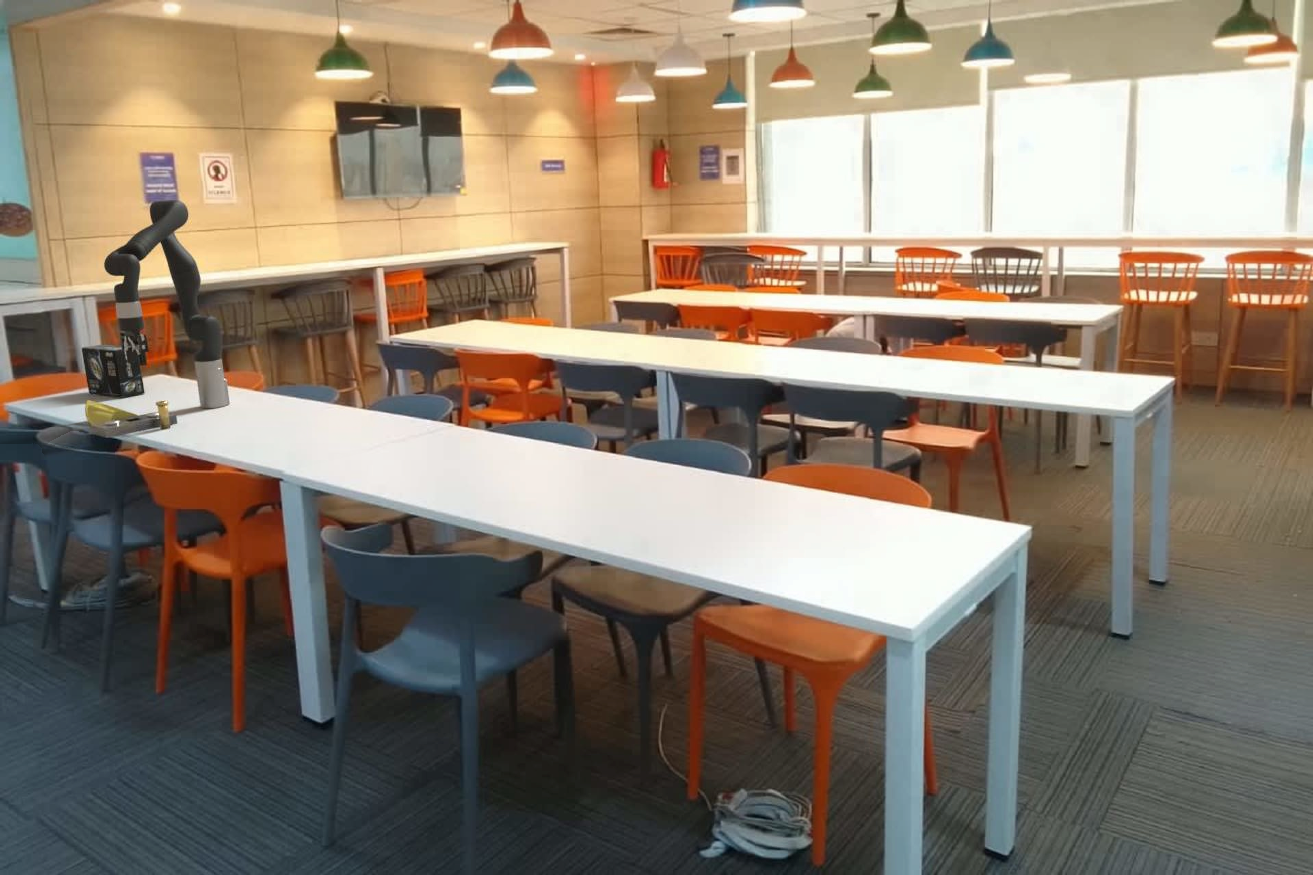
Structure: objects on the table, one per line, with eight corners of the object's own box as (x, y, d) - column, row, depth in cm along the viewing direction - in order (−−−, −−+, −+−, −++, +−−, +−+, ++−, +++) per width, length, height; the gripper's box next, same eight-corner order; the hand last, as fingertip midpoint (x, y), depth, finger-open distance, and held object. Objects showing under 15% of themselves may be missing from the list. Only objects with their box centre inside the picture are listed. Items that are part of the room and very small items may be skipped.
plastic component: (140, 415, 364) (113, 408, 355) (133, 436, 363) (106, 429, 355) (110, 405, 375) (83, 398, 366) (103, 425, 374) (76, 418, 366)
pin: (168, 426, 357) (164, 400, 354) (173, 427, 354) (170, 401, 352) (157, 428, 354) (153, 402, 351) (163, 430, 351) (159, 403, 349)
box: (87, 394, 419) (80, 347, 414) (111, 389, 427) (104, 343, 422) (121, 399, 407) (114, 350, 402) (145, 394, 415) (138, 346, 410)
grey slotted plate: (161, 419, 367) (159, 409, 366) (177, 423, 361) (175, 412, 360) (90, 433, 349) (89, 422, 348) (106, 437, 342) (104, 426, 341)
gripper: (151, 315, 343) (158, 364, 347) (131, 313, 352) (138, 360, 356) (128, 318, 338) (135, 368, 342) (108, 315, 347) (116, 364, 351)
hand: (137, 364), depth 349 cm, fingers open, 8 cm apart
